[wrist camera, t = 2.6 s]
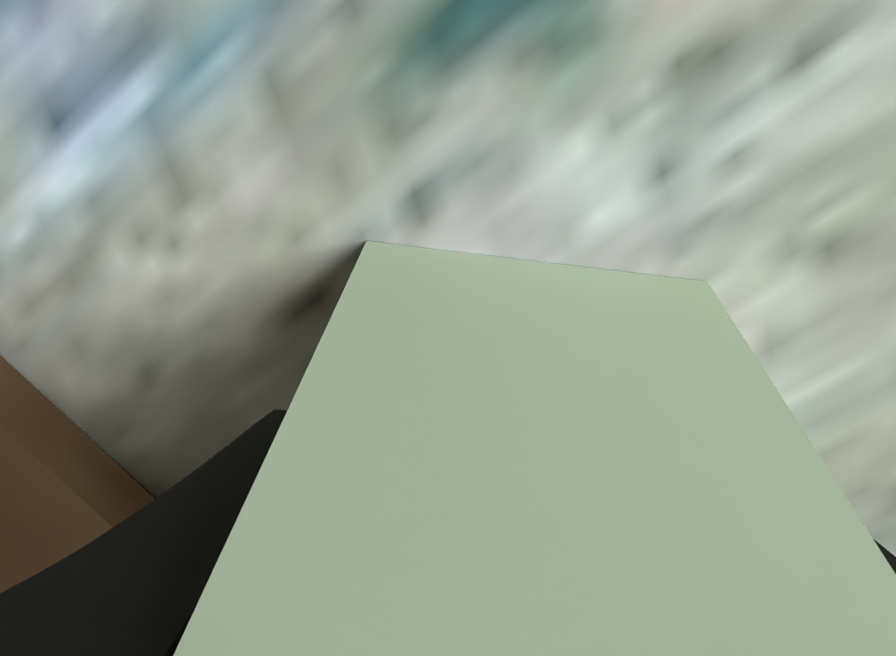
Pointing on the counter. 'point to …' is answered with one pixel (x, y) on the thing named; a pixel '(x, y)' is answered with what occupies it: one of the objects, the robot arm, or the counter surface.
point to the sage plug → (540, 482)
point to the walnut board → (52, 483)
